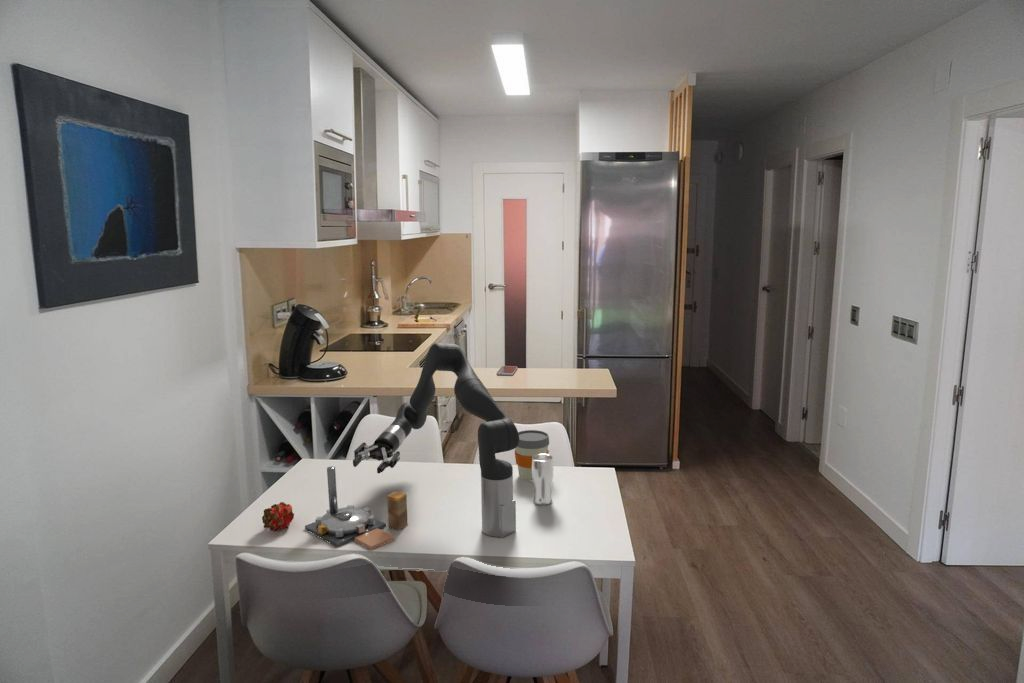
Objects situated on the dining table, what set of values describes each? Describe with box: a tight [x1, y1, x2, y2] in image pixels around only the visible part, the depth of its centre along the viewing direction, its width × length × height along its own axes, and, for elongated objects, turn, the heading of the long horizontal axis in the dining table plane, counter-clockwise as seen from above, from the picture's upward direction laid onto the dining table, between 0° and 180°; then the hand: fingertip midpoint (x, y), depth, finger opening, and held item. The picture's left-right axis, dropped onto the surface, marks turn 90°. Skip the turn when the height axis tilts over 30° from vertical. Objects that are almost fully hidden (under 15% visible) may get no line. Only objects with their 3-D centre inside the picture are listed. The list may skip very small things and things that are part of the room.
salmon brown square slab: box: [354, 528, 395, 550], centre depth 195 cm, size 8×8×1 cm
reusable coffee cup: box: [514, 429, 550, 482], centre depth 240 cm, size 13×12×15 cm
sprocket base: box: [304, 517, 387, 548], centre depth 203 cm, size 17×17×1 cm
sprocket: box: [314, 466, 376, 537], centre depth 201 cm, size 17×17×16 cm
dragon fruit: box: [261, 501, 295, 533], centre depth 203 cm, size 8×8×12 cm
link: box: [386, 490, 409, 531], centre depth 202 cm, size 4×4×10 cm
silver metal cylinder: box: [532, 453, 555, 506], centre depth 218 cm, size 7×7×15 cm
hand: (366, 467), depth 217 cm, fingers open, 8 cm apart
